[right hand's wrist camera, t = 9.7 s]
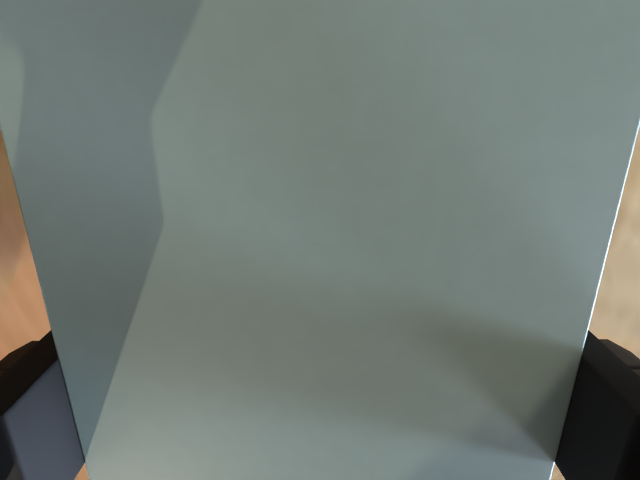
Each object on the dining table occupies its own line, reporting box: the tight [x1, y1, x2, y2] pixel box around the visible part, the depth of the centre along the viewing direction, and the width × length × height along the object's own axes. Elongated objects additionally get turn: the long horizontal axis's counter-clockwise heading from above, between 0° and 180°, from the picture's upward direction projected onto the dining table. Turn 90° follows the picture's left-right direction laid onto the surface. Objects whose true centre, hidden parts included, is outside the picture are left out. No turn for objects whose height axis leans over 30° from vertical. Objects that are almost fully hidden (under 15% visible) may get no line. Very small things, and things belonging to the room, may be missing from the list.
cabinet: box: [0, 0, 640, 480], centre depth 12 cm, size 19×10×11 cm, turn 0°
